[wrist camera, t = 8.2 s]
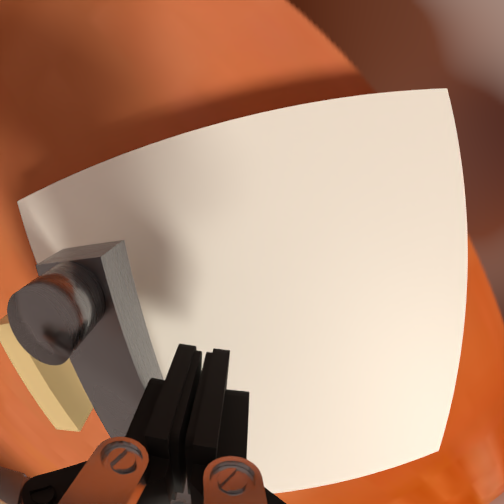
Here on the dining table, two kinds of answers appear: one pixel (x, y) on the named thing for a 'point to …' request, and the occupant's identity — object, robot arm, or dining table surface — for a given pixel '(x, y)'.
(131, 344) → the bar
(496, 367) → the dining table surface
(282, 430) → the door board
